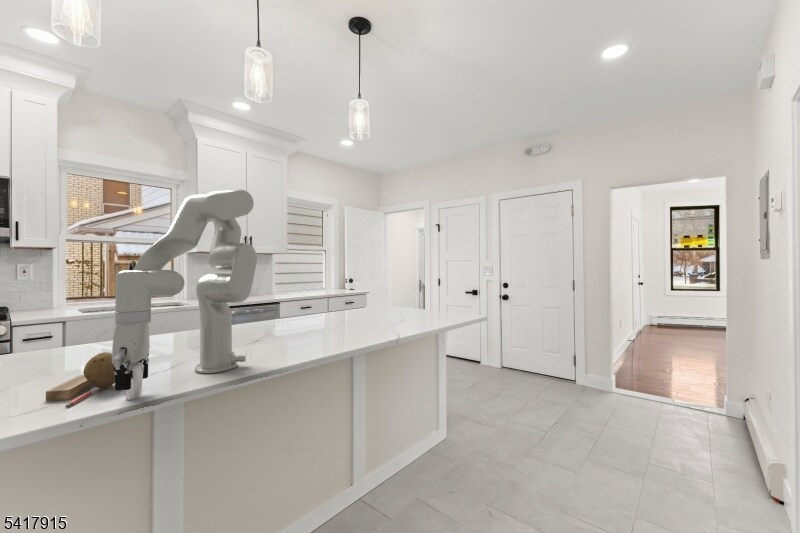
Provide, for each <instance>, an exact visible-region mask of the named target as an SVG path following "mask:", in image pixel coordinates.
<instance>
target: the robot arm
mask: <svg viewBox="0 0 800 533" xmlns="http://www.w3.org/2000/svg"><path fill="white" fill-rule="evenodd" d="M253 209H254V198H253V196H252V194H251V193H250V192H249V191H247V190H245V189H230V190H229V189H228V190H216V191H212V192H208V193H207V194H193V195H190V196H188V197H186V198H185V199H184V200H183V201H182V203H181V205H180V207H179V208H178V210H177V212H176V214H175V216H174V218H173V220H172V221H171V224H170V225H169V228H168V230H167V232H166V233H165V234H164V235H163V236H162V237H161V238H159V239H157V241H155V242H154V243H153V244H152V245H151V246H150V247H149V248H148V249H146V250H145V251H144V253H142V255H141V256H140V257H139V258H138V260H137V263H136V264H135V266H134V268H133V269H131V270H120V271H118V272H117V273H116V275H115V304H114V305H115V307H114V308H115V310H114V311H115V312H114V325H115V327H114V332H113V337H112V338H113V339H112V349H111V350H112V351H111V353H112V364H113V365H114V367H113V368H114V370H115V372H114V374H115V383H114V390H115V391H125V390H129V389H131V373H129V372H130V369H131V366H132V364H134V363H137V362H139V363H142V360H144V361H143V365H144V370H143V379H148V378H149V361H150V358H149V356H150V347H151V346H150V345H151V344H150V326H149V324H150V323H152V297H158V298H159V297H160V298H161V297H165V298H166V297H173V296H177V295H178V294H180V293H181V292H182V290H183V289H184V287H185V278H184V277H183V276H182V274H181V273H179V272H178V271H175V270H171V269H164V268H165V267H166V266H167V265H168V263H170V262H171V261H172V260H173V259H175V258H177V257H179V256H181V255H184V254H185V253H188V252H190V251H191V250H194V249H195V248H196V247H197V246H198V244H199V242H200V240H201V238H202V236H203V233H204V231H205V229H206V227H207V225H208V223H213V227H214V232H213V233H214V234H213V237H212V241H211V245H210V250H209V254H208V261H207V262H208V265H209V266H210V268H211V269H213V270H216V271H221V272H227V271H228V272H231V273H208V274H205V275H203V276H202V277H200V278H199V279H198V281H197V283H196V285H195V293H196V297H197V302H198V308H199V364H196V365H195V366H194V371H195V372H196V373H198V374H214V373H223V372H227V371H230V370H233V369H235V368H236V367H237V366H238V362H239V363H244V362H246V360H247V358H246V355H243V354H240V355H236V354H235V351H233V339H232V338H233V334H232V333H233V332H232V331H233V328H232V326H233V322H232V321H233V320H232V319H233V317H232V311H231V308H230V306H229V304H238V303H243V302H245V301H246V300H247V299H249V297H250V294H251V293H252V292H251V291H252V288H253V283H254V278H255V274H256V267H257V264H258V263H257V261H258V258H257V257H258V256H257V252H256V249H255V248H254V246H252V245H251V244H250V243H246V242H241V238H242V229H241V227H240V224H239V223H238V221H237V218H240V217H245V216H246V215H248V214H251V212H252V210H253ZM125 365H127V367H126V368H125ZM143 379H142V380H143Z"/></svg>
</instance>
